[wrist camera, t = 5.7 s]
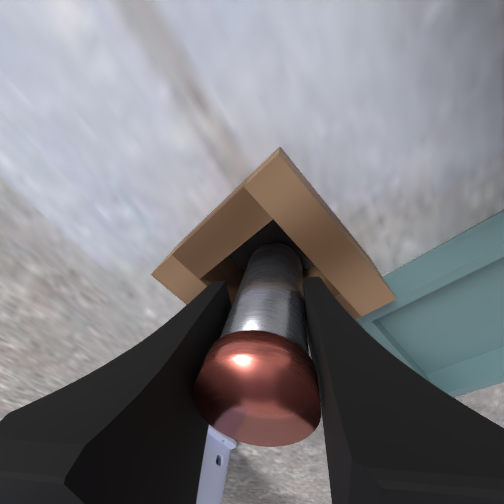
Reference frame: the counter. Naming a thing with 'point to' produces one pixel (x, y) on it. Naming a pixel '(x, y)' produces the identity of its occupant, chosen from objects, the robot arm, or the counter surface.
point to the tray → (449, 311)
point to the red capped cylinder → (263, 358)
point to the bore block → (294, 225)
